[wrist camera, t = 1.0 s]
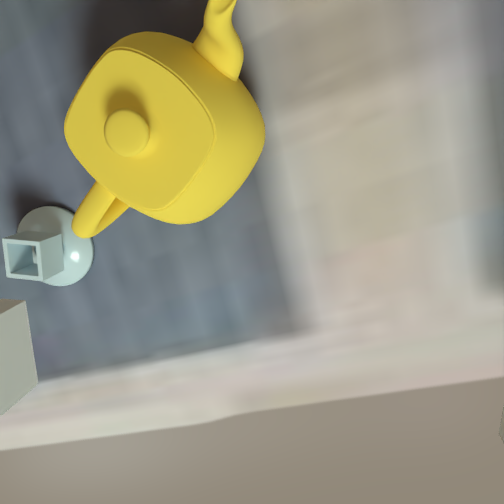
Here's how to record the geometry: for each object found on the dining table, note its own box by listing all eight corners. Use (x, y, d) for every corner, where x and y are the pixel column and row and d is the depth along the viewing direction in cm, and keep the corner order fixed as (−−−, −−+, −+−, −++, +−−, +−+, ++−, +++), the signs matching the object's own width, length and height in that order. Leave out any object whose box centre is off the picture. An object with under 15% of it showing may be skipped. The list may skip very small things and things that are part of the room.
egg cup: (16, 203, 42) (-24, 211, 38) (91, 208, 41) (60, 218, 36) (24, 280, 45) (-13, 297, 40) (96, 287, 43) (67, 306, 39)
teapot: (330, 78, 35) (330, 50, 23) (187, 258, 41) (129, 309, 29) (201, -33, 34) (132, -121, 22) (76, 166, 40) (-29, 179, 29)
